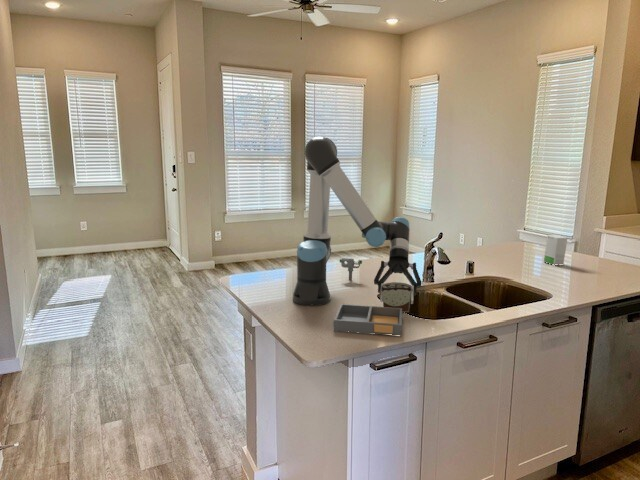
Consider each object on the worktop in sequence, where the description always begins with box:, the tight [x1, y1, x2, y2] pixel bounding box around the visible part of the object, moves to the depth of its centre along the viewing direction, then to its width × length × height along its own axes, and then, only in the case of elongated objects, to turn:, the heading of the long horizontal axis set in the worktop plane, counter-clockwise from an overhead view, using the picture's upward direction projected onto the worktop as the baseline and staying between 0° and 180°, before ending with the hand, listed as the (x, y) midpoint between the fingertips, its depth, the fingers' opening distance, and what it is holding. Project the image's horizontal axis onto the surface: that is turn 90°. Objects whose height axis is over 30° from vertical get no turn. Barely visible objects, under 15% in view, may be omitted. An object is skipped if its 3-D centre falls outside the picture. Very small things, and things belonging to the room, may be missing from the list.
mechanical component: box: [339, 257, 363, 282], centre depth 214 cm, size 3×10×10 cm, turn 79°
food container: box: [380, 282, 413, 313], centre depth 175 cm, size 12×6×10 cm, turn 88°
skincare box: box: [543, 234, 568, 265], centre depth 249 cm, size 8×7×16 cm
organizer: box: [333, 303, 403, 336], centre depth 160 cm, size 22×17×4 cm
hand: (396, 301), depth 172 cm, fingers closed on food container, 11 cm apart
